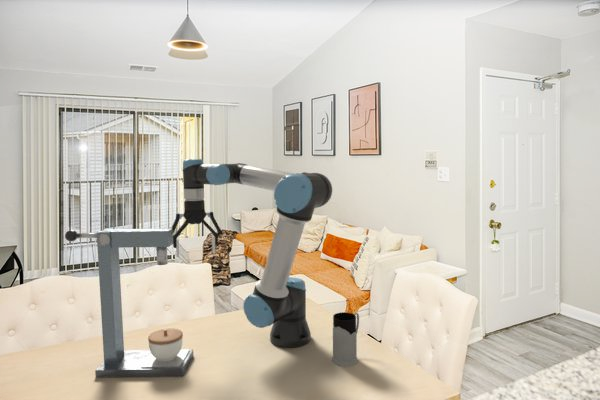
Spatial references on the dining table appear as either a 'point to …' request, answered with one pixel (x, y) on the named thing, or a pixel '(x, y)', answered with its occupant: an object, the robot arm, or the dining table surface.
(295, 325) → the robot arm
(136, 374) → the arbor press
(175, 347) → the lidded jar
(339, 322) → the grey mug
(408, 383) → the dining table surface
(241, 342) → the dining table surface
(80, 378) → the dining table surface
